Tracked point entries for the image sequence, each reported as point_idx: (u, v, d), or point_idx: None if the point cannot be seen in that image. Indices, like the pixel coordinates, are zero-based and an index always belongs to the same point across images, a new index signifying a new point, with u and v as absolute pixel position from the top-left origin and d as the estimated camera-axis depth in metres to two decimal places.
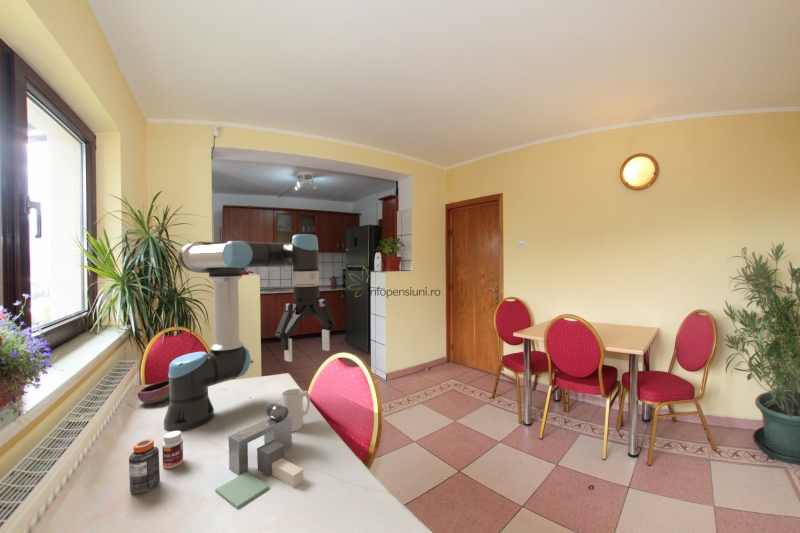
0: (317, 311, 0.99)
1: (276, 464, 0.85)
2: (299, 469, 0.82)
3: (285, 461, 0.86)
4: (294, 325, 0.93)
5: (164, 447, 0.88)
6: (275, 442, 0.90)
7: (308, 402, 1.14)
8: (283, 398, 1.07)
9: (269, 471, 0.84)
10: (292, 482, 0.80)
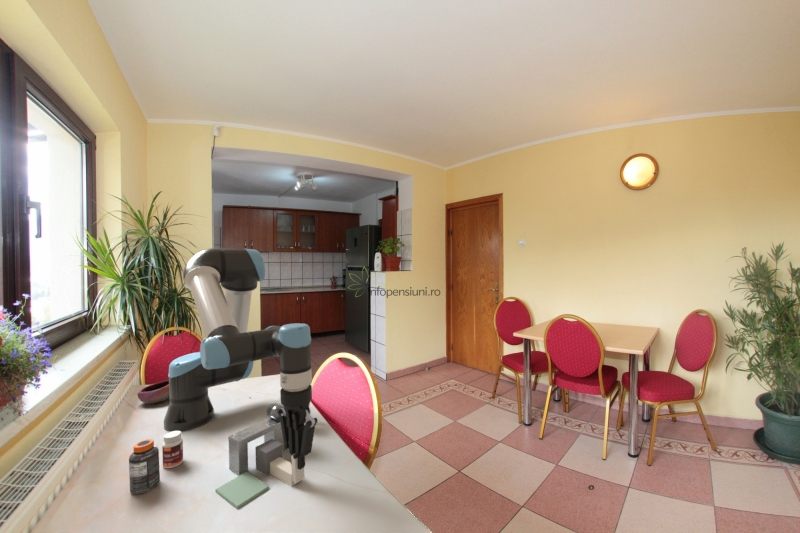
0: (294, 424, 0.79)
1: (274, 463, 0.85)
2: None
3: (283, 460, 0.86)
4: (290, 436, 0.81)
5: (164, 447, 0.88)
6: (273, 441, 0.90)
7: None
8: None
9: (267, 470, 0.85)
10: (290, 481, 0.81)
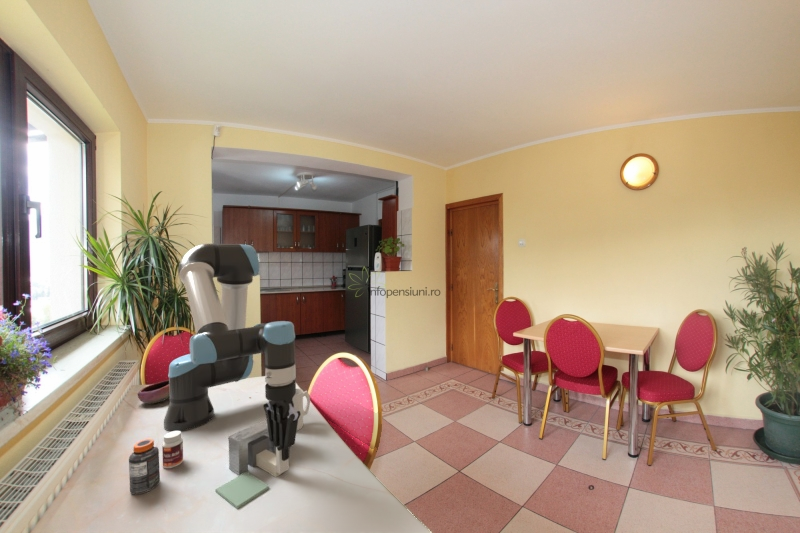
0: (278, 417, 0.83)
1: (260, 455, 0.89)
2: None
3: (269, 452, 0.90)
4: (274, 429, 0.85)
5: (164, 447, 0.88)
6: None
7: (308, 402, 1.14)
8: None
9: (253, 462, 0.89)
10: (274, 471, 0.84)
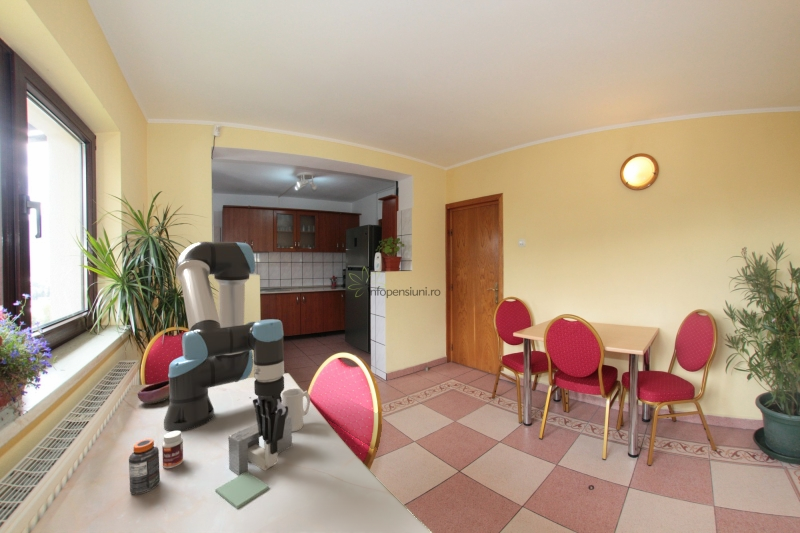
0: (266, 412, 0.85)
1: (250, 449, 0.91)
2: None
3: (259, 447, 0.93)
4: (263, 424, 0.87)
5: (164, 447, 0.88)
6: None
7: (308, 402, 1.14)
8: (283, 398, 1.07)
9: None
10: (263, 465, 0.87)
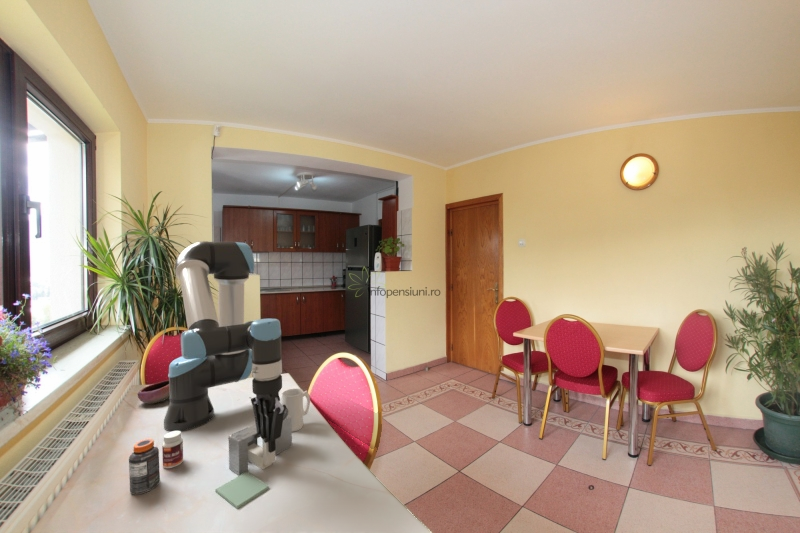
0: (264, 410, 0.86)
1: (248, 449, 0.92)
2: None
3: (257, 446, 0.93)
4: (261, 422, 0.88)
5: (164, 447, 0.88)
6: None
7: (308, 402, 1.14)
8: (283, 398, 1.07)
9: None
10: (261, 464, 0.88)
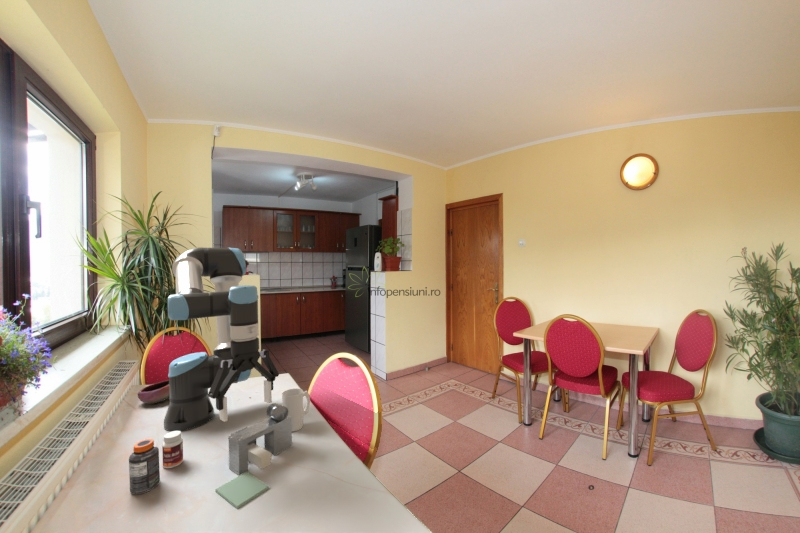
0: (257, 364, 0.95)
1: None
2: (267, 452, 0.90)
3: (256, 446, 0.93)
4: (230, 382, 0.89)
5: (164, 447, 0.88)
6: None
7: (308, 402, 1.14)
8: (283, 398, 1.07)
9: None
10: (260, 464, 0.88)
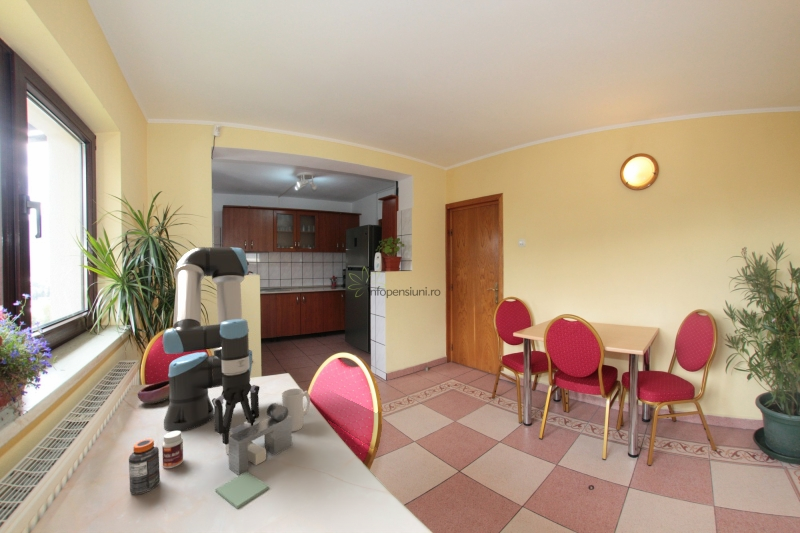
0: (245, 398, 0.97)
1: None
2: (262, 449, 0.91)
3: (251, 442, 0.95)
4: (230, 417, 0.94)
5: (164, 447, 0.88)
6: (243, 426, 0.99)
7: (308, 402, 1.14)
8: (283, 398, 1.07)
9: None
10: (255, 460, 0.89)
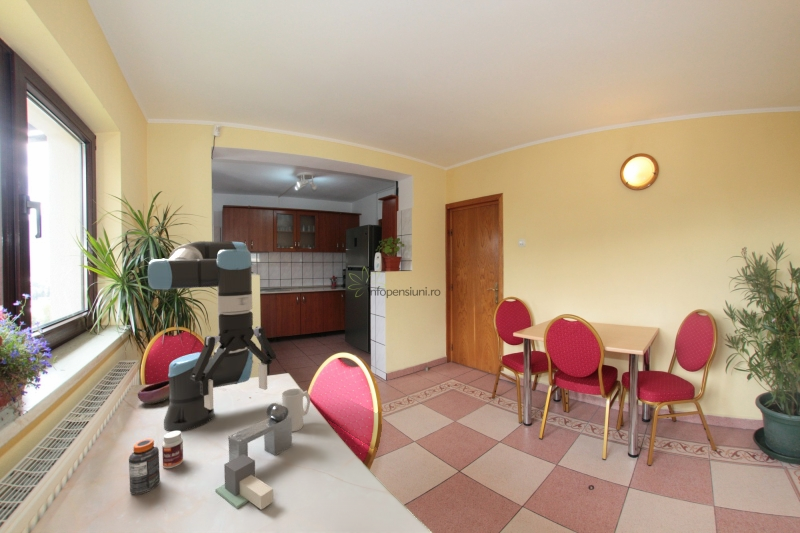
0: (250, 343, 0.81)
1: (244, 482, 0.77)
2: (269, 488, 0.74)
3: (254, 479, 0.78)
4: (217, 363, 0.75)
5: (164, 447, 0.88)
6: (245, 457, 0.82)
7: (308, 402, 1.14)
8: (283, 398, 1.07)
9: (236, 490, 0.77)
10: (260, 503, 0.72)
